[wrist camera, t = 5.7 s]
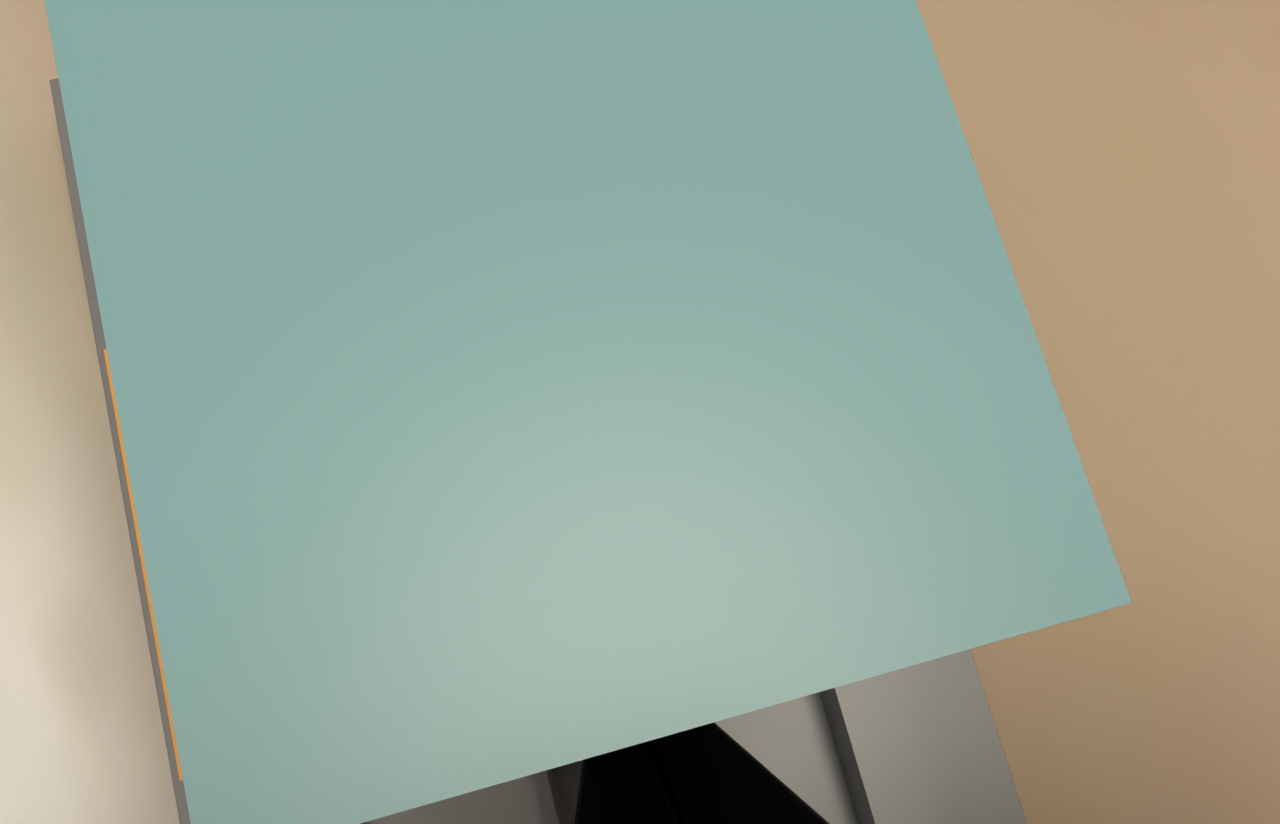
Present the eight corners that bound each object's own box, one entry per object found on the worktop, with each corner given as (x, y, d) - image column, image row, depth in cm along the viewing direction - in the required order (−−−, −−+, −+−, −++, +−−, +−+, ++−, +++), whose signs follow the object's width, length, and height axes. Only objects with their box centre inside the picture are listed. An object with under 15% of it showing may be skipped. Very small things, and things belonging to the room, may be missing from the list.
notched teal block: (784, 665, 15) (1130, 602, 6) (389, 776, 14) (198, 870, 6) (658, 231, 16) (811, -293, 8) (289, 311, 15) (13, -177, 7)
